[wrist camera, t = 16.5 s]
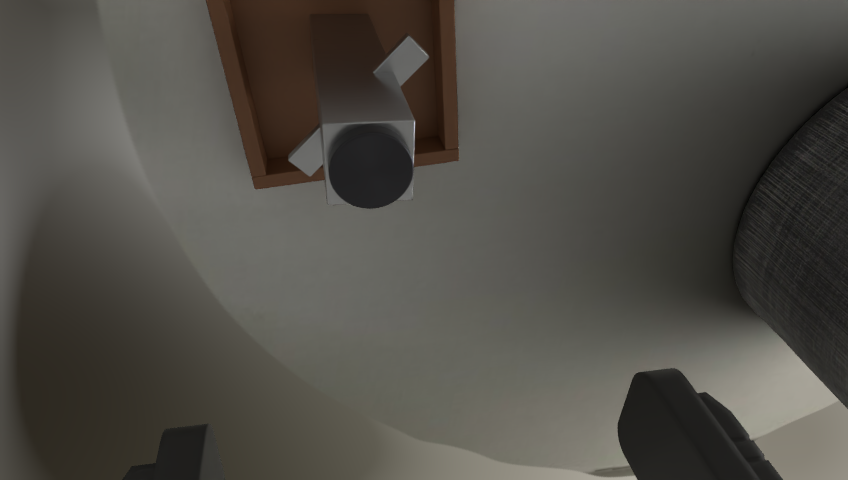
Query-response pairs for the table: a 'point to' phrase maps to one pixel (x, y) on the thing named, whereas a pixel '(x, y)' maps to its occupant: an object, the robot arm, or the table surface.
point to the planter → (803, 245)
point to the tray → (294, 77)
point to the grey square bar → (360, 113)
